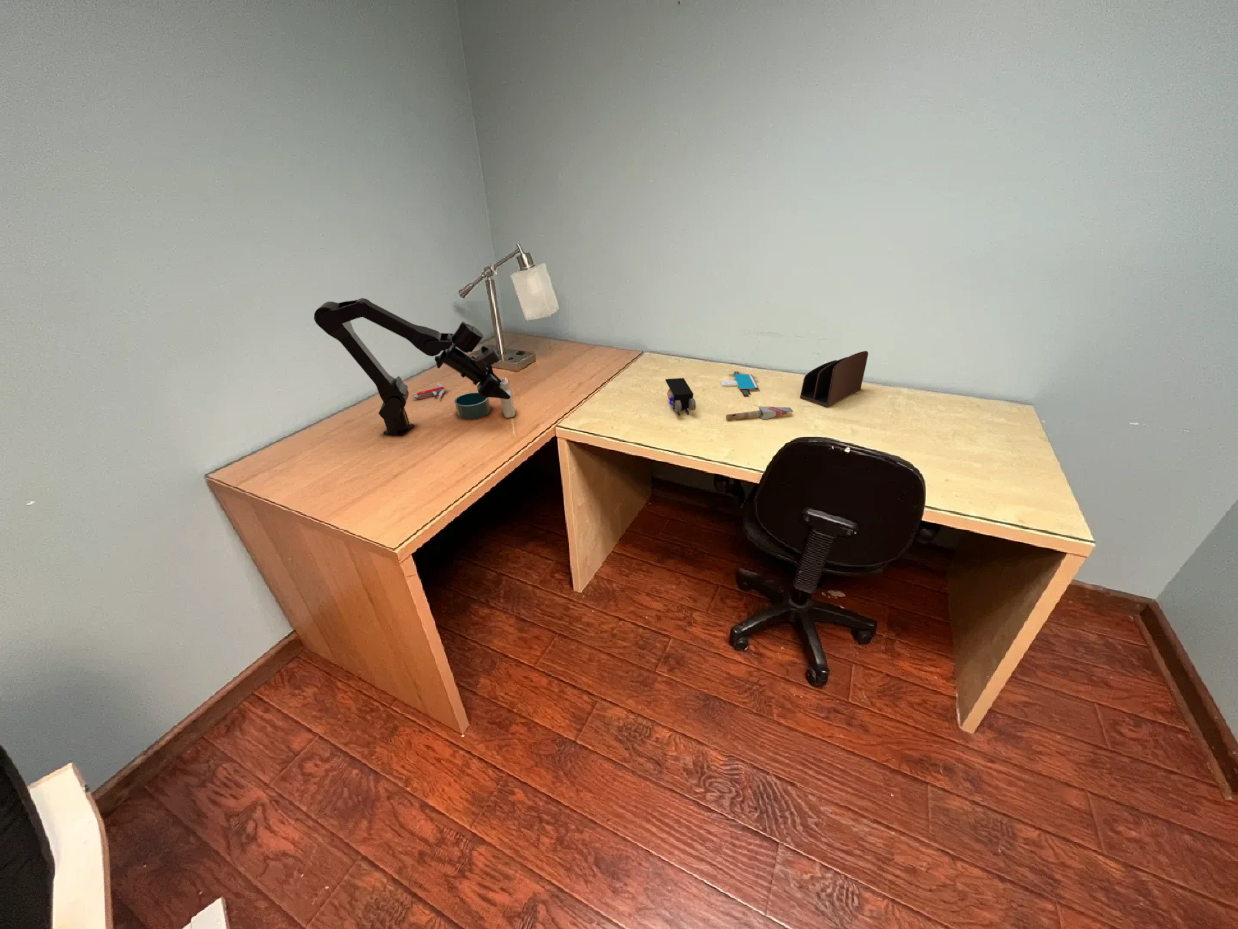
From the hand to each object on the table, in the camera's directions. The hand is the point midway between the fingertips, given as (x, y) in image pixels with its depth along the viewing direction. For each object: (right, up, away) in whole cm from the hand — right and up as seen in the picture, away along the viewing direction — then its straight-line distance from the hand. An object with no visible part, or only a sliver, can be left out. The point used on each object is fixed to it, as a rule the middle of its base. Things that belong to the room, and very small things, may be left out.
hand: (507, 392), depth 150 cm
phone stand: (+75, +5, +18) cm, 77 cm away
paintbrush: (+76, -8, -3) cm, 76 cm away
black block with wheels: (+53, -5, +4) cm, 54 cm away
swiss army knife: (-31, +1, +18) cm, 35 cm away
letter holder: (+103, 0, +9) cm, 103 cm away
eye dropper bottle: (0, -7, +4) cm, 8 cm away
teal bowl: (-12, -5, +6) cm, 14 cm away
